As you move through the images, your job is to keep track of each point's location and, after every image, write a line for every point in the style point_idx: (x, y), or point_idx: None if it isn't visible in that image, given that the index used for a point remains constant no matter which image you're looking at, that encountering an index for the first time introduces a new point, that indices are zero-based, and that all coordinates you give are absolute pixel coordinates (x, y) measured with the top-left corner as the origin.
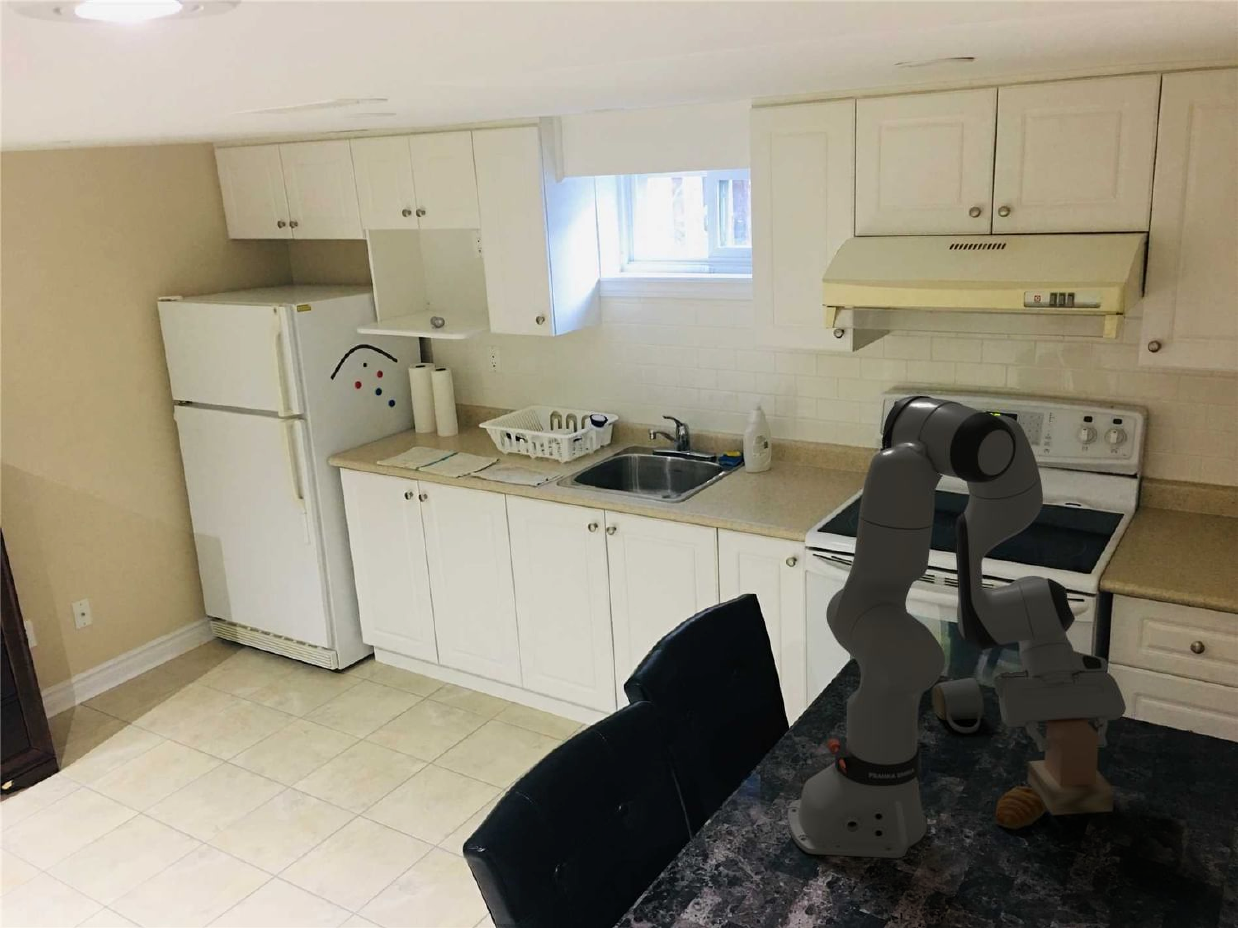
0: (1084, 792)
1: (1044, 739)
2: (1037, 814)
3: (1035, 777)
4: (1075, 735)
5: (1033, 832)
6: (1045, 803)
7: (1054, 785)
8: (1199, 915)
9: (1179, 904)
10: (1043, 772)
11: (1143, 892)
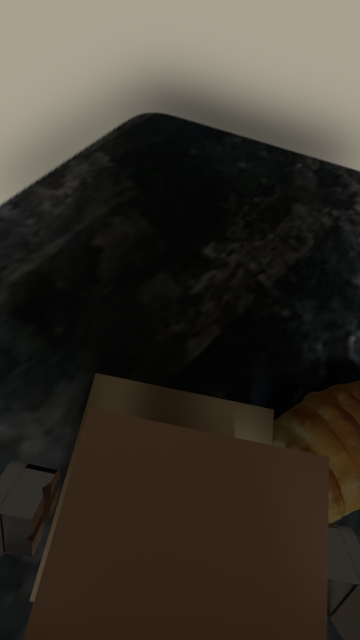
0: (182, 391)
1: (348, 574)
2: (307, 398)
3: None
4: (236, 451)
5: (322, 367)
6: None
7: None
8: (179, 122)
9: (189, 143)
10: None
11: (223, 176)
